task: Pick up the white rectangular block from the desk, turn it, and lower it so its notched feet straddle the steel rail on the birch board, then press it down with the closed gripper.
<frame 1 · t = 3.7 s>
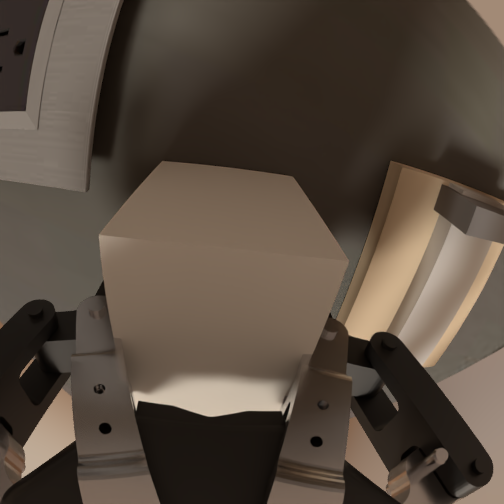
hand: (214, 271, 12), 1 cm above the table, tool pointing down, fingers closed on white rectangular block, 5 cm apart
rail board: (420, 286, 15), on the table
white rectangular block: (216, 259, 13), on the table, touching gripper
electrical outlet: (8, 55, 8), on the table
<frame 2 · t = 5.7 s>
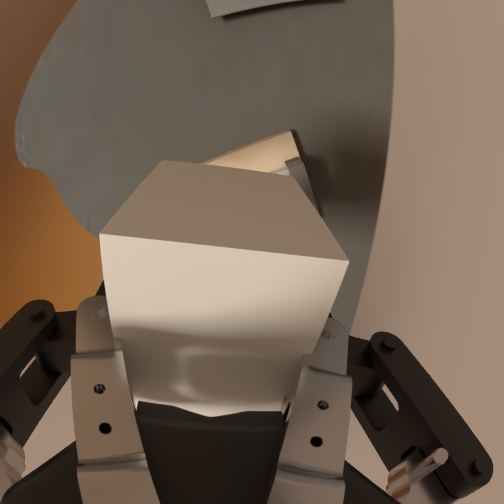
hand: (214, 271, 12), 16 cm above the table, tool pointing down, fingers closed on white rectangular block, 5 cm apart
rail board: (243, 197, 28), on the table
white rectangular block: (215, 258, 13), point 15 cm above the table, touching gripper
when the fingers open (3 cm above the table, at t = 8.2 s): white rectangular block drops 1 cm, resting on rail board.
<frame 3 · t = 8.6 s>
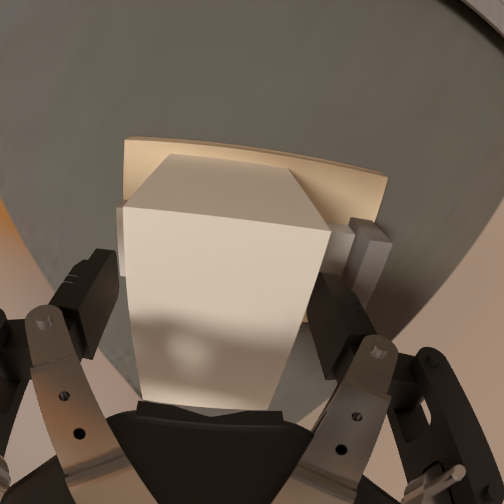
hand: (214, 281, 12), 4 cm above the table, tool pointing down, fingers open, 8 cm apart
rail board: (247, 237, 15), on the table
white rectangular block: (217, 243, 14), point 1 cm above the table, touching rail board
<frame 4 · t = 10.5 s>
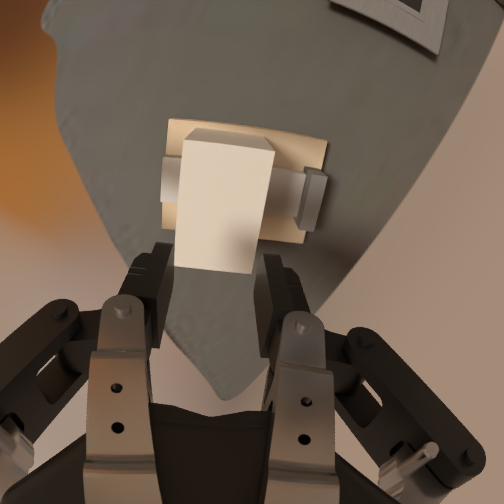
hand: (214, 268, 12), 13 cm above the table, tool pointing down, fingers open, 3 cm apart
rail board: (240, 180, 24), on the table
white rectangular block: (222, 181, 23), point 1 cm above the table, touching rail board
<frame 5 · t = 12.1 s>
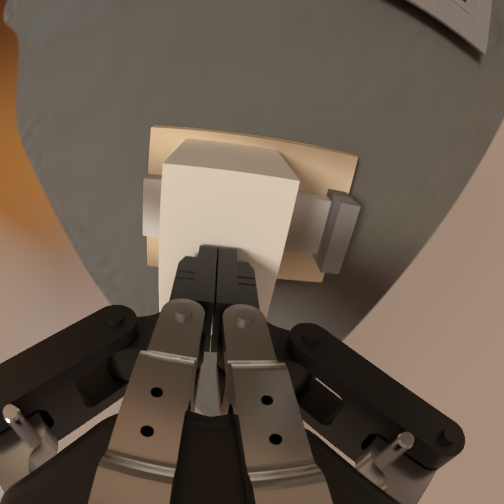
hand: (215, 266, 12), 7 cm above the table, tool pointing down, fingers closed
rail board: (245, 206, 19), on the table
white rectangular block: (222, 209, 18), point 1 cm above the table, touching gripper, rail board
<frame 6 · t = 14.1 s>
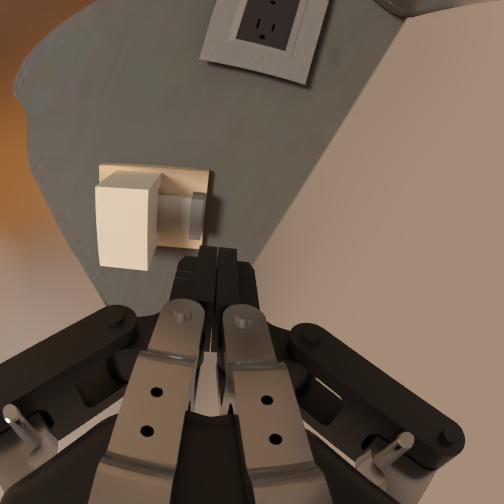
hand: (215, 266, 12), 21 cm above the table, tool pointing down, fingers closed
rail board: (152, 204, 32), on the table
white rectangular block: (137, 206, 31), point 1 cm above the table, touching rail board
electrical outlet: (266, 18, 24), on the table
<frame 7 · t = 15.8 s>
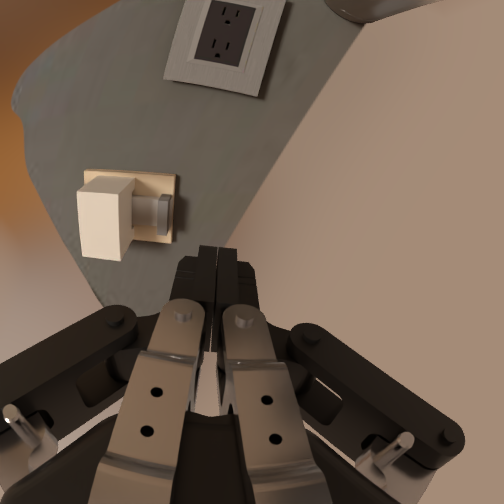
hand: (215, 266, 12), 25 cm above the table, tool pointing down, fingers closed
rail board: (128, 204, 36), on the table
white rectangular block: (116, 206, 35), point 1 cm above the table, touching rail board
electrical outlet: (225, 36, 28), on the table
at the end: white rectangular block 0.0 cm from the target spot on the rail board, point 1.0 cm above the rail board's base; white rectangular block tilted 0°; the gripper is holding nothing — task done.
